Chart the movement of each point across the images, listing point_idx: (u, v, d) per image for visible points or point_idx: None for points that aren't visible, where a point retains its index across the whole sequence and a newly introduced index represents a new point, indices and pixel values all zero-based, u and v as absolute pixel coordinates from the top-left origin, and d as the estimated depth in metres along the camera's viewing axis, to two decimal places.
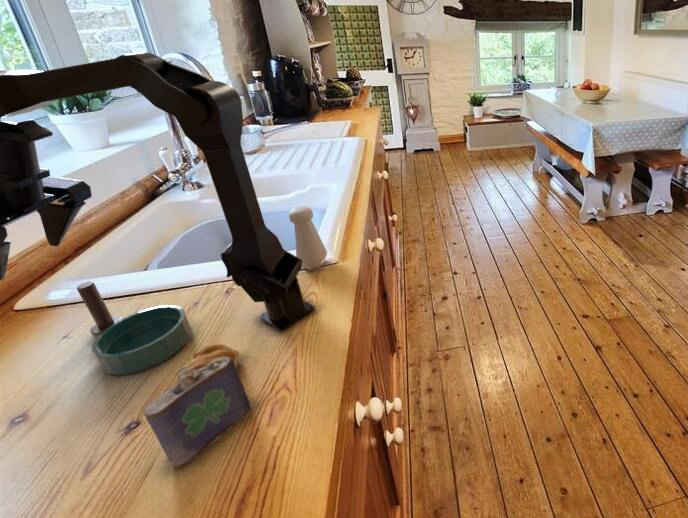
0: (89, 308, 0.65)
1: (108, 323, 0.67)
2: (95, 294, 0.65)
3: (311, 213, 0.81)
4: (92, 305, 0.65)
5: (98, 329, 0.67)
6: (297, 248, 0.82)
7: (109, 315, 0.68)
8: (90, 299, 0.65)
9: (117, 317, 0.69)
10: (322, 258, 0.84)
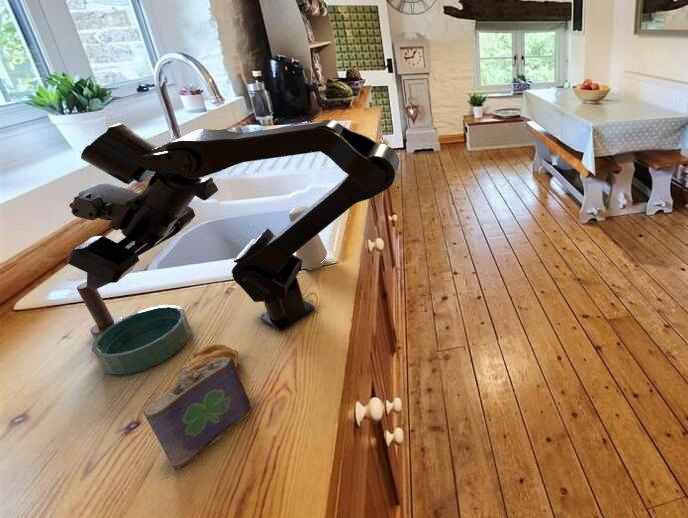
0: (89, 308, 0.65)
1: (108, 323, 0.67)
2: (95, 294, 0.65)
3: None
4: (92, 305, 0.65)
5: (98, 329, 0.67)
6: None
7: (109, 315, 0.68)
8: (90, 299, 0.65)
9: (117, 317, 0.69)
10: (322, 258, 0.84)
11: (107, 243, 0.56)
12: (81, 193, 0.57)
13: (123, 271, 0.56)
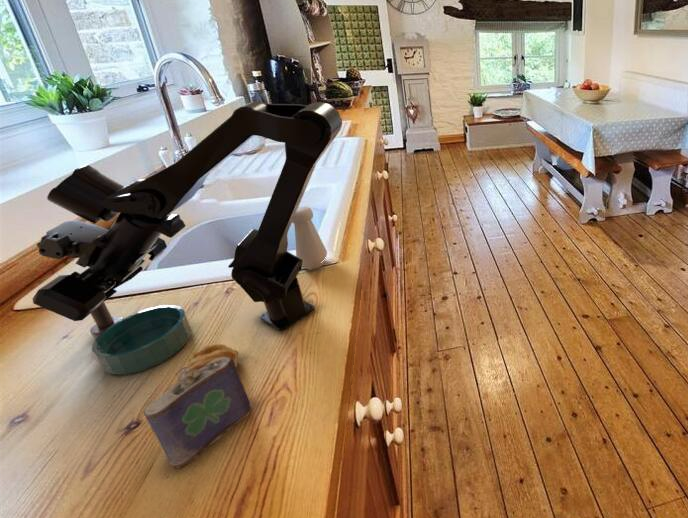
0: None
1: (108, 323, 0.67)
2: None
3: (311, 213, 0.81)
4: None
5: (98, 329, 0.67)
6: (297, 248, 0.82)
7: (109, 315, 0.68)
8: None
9: (117, 317, 0.69)
10: (322, 258, 0.84)
11: (73, 282, 0.58)
12: (49, 232, 0.59)
13: (88, 309, 0.57)
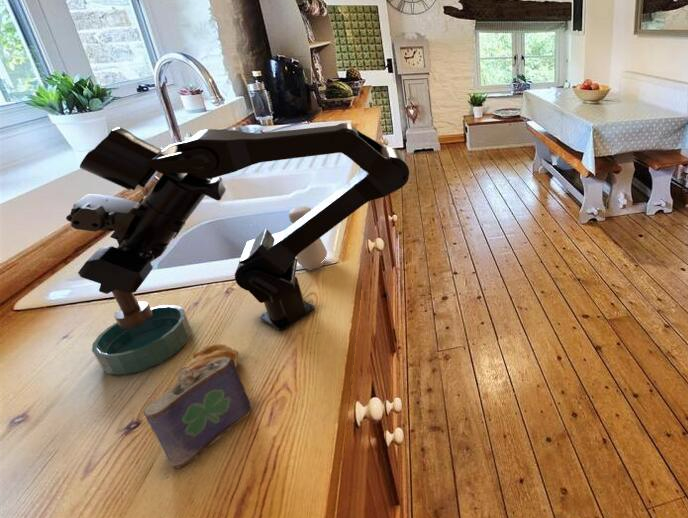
0: (115, 291, 0.60)
1: (135, 307, 0.62)
2: None
3: None
4: None
5: (125, 315, 0.61)
6: None
7: (135, 299, 0.62)
8: None
9: (140, 302, 0.64)
10: (322, 258, 0.84)
11: (119, 253, 0.53)
12: (76, 204, 0.54)
13: (143, 279, 0.54)
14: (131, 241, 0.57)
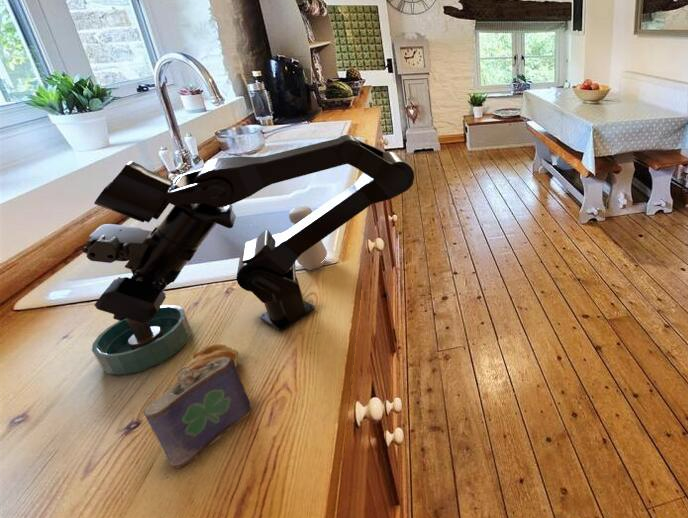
0: None
1: (148, 333, 0.63)
2: None
3: None
4: None
5: (138, 340, 0.62)
6: None
7: (148, 324, 0.63)
8: None
9: (152, 327, 0.65)
10: (322, 258, 0.84)
11: (133, 283, 0.55)
12: (92, 236, 0.55)
13: (157, 309, 0.55)
14: (145, 270, 0.58)
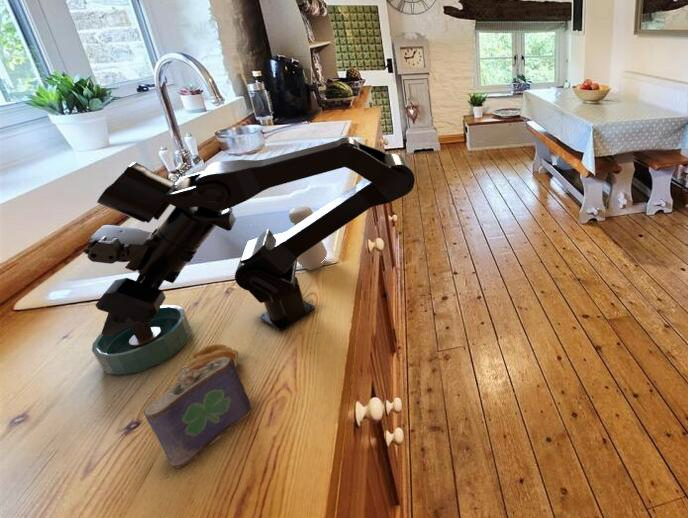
0: None
1: (149, 333, 0.64)
2: None
3: (311, 213, 0.81)
4: None
5: (138, 341, 0.63)
6: None
7: (148, 325, 0.64)
8: None
9: (153, 327, 0.66)
10: (322, 258, 0.84)
11: (134, 284, 0.55)
12: (93, 237, 0.56)
13: (157, 310, 0.56)
14: (145, 271, 0.59)
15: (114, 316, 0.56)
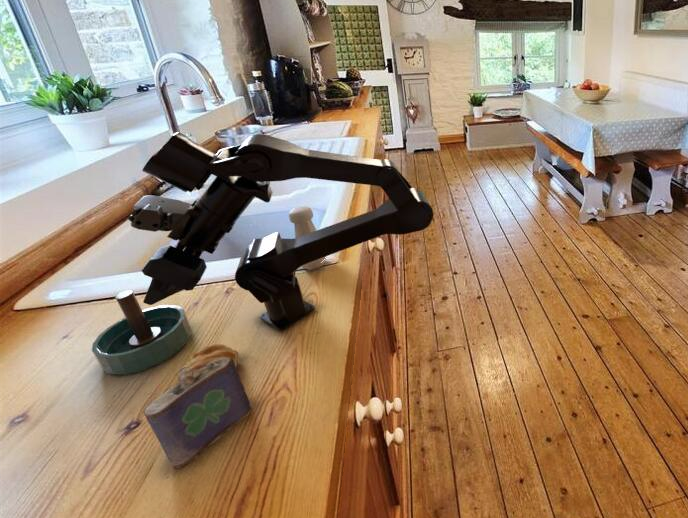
0: (130, 319, 0.62)
1: (149, 333, 0.64)
2: (136, 303, 0.62)
3: (311, 213, 0.81)
4: (133, 315, 0.62)
5: (138, 341, 0.63)
6: None
7: (148, 325, 0.64)
8: (131, 308, 0.61)
9: (153, 327, 0.66)
10: (322, 258, 0.84)
11: (177, 252, 0.56)
12: (137, 205, 0.56)
13: (200, 277, 0.56)
14: (186, 241, 0.59)
15: (157, 284, 0.57)
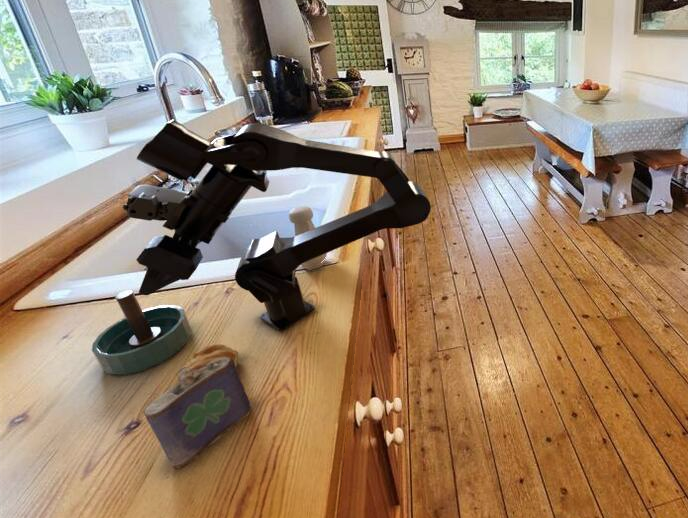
0: (130, 319, 0.62)
1: (149, 333, 0.64)
2: (136, 303, 0.62)
3: (311, 213, 0.81)
4: (133, 315, 0.62)
5: (138, 341, 0.63)
6: None
7: (148, 325, 0.64)
8: (131, 308, 0.61)
9: (153, 327, 0.66)
10: (322, 258, 0.84)
11: (172, 241, 0.55)
12: (131, 194, 0.55)
13: (196, 267, 0.55)
14: (182, 230, 0.58)
15: (152, 274, 0.56)
